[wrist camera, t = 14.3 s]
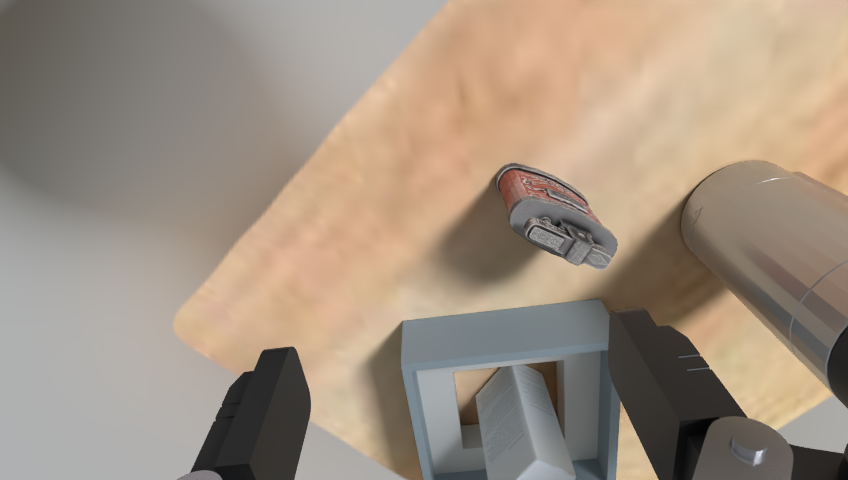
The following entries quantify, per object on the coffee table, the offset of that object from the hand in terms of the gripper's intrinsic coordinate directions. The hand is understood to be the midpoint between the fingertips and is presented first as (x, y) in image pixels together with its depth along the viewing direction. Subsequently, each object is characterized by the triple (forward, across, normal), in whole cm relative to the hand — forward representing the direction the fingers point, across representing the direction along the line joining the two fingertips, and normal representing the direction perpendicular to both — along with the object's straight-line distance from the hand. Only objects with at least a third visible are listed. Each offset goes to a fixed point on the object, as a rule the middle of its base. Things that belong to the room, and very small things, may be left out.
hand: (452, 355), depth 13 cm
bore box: (+28, -4, +28) cm, 40 cm away
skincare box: (+28, -4, +28) cm, 40 cm away
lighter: (+28, -8, +8) cm, 30 cm away
